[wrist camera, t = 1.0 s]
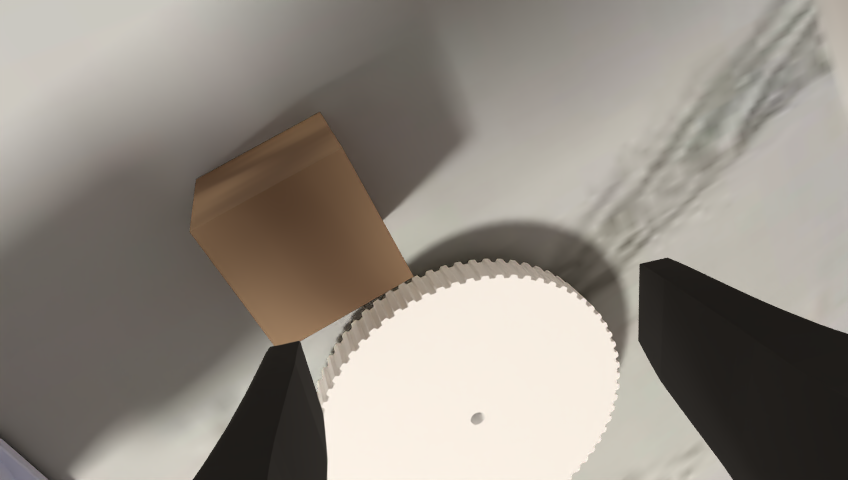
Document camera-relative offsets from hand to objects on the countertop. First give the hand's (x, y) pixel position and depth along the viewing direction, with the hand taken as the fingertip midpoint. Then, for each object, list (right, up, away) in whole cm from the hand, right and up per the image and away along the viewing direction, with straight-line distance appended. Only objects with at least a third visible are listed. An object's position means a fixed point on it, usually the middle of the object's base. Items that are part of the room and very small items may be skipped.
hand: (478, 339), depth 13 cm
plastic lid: (0, -5, +17) cm, 18 cm away
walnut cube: (-6, +4, +11) cm, 13 cm away
